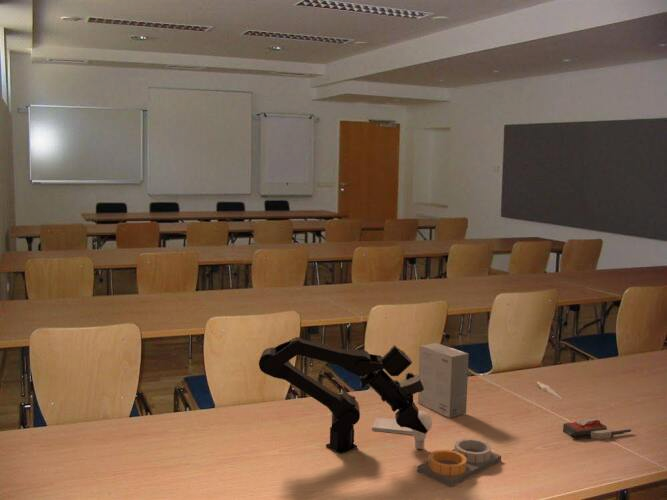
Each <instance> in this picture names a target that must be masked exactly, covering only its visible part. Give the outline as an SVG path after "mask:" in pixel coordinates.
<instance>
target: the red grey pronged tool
mask: <svg viewBox="0 0 667 500" xmlns="http://www.w3.org/2000/svg"><path fill="white" fill-rule="evenodd" d="M562 426H563V427H562V432H563V433H564V434H566V435H567V436H569V437H570V438H572V439H574V440H582V439H588V438H589V439H594V440H603V439H604V440H605V439H611V438H612V436H616V435H622V434H626V433H631V432H632V430H631V429H621V430H608V427H607V426H606V425H605V424H603V423H601V421H600V420H599V419H597V418H596V417H588V418H583V419H582V420H581V421H580V420H575V421H573V422H566V423H565V422H564V423H563V425H562Z"/></svg>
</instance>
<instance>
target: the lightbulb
mask: <svg viewBox="0 0 667 500" xmlns="http://www.w3.org/2000/svg"><path fill="white" fill-rule="evenodd" d="M418 412H419V414H418V418H419V419H420V420H421V422H422V423H423V425H424V426H425V427H426V429H427V432H426V433H422V432H419V431H416V430H413V429H411V430H412V431H413V433H414V434H413V437H414V447H415V448H416V449H417V450H423V449H424V448H425V441H426V438H427V434H428V433H429V431H430V430H431V428H432V426H433V421H432V417H431V416H430V415H429V413H428V412H426V411H424V410H419V411H418Z"/></svg>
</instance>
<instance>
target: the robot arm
mask: <svg viewBox="0 0 667 500" xmlns="http://www.w3.org/2000/svg"><path fill="white" fill-rule="evenodd" d="M298 355H299V356H301V357H307V358H310V359H314V360H316V361H317V360H318V361H321V362H324V363H329V364H333V365H337V366H339V367H341V368H343V369H345V370H346V371H347V372H349V373H352V374H354V375H356V376H359V379H360V389H364V388H366V386H367V385H368V386H369V387H370V388H371V389H373V390H374V392H375V393H376V394H378V395H379V397H380V399H381V401H382V402H384V403H385V402H386V403H387V404H388V406H390V408H391V411H392V412H393V413H395V414H394V415H395V418H394V419H396V423H397V424H398V425H399V426H400V427H407V428H410V429H413V430H416V431H419V432H422V433H426V432H427V429H426V427H425V426H424V425H423V423H422V422H421V420H420V419H419V418H418V414H419V412H418V411H420V410H419V408H418V407H417V405H416V404H415V402H414V394H417V393H418V392H421V391H423V390H424V387H423V385H422V383H421V380H420V378H419V374H418V375H417V374H414V373H412V372H410V371H409V372H407V373H405V379H403V381H402V382H401V381H400V382H399V380H396V379H393V378H392V377H399V376H400V375H401V374H402V373H403V372H405V371H406V370H407V368H409V367H410V366H411V365H412V364H413V361H412V359H411V358H410V357H409V356H408V355H407V353H406V352H405V351H404V350H402V349H400V348H399V347H398V346H396V345H393V346H392V347H391V348H390V349H389V350H388V352H386V353H385V354H384V355H383V356H382V355H379V354H378V355H377V354H371V353H369V352H368V351H366V350H364V349H357V348H356V349H355V348H347V349H343V348H342V349H341V348H338V347H333V346H329V345H327V344H323V343H318V342H315V341H310V340H307V339H303V338H302V337H299V336H298V337H297V336H295V337H293V338H292V339H290V340H289V341H286V342H282V343H281V344H278V345H277V346H274V347H267V348H266V349H264V350H263V351H262V353H261V354H260V356H259V360H258V367H259V369H260V372H262V373H263V374H265V375H267V376H270V377H272V378H275V379H279V380H283V381H286V382H287V383H289V384H291V385H292V386H294V388H297V389H298V390H300V391H302V392H303V393H305V394H306V395H308V396H310V397H311V398H313V399H314V400H316V401H317V402H318V403H320V404H321V405H323V406H324V407H326V408H328V410H329V411H330V413H331V426H330V427H329V443H326V444H325V447H326V448H328V449H330V450H333V451H335V452H336V453H338V454H344V453H347V452H349V451H352V450H354V449H357V448H358V445H357V444H355V428H354V426H355V425H356V424H357V423H358V422H359V420H361V419H360V418H361V412H360V405H359V401H358V400H357V399H356V396H354V395H350V394H349V393H348V392H347V391H346V390H342V392H341V393H338V392H334V391H332V390H331V389H330V388H328V387H327V386H325V385H323V384H322V383H320V382H319V381H317V380H315V379H314V378H312V376H309V375H308V374H306V373H305V372H303V371H301V369H299V368H297V367H296V366H294V365H293V364H292V363H291V362H290V361H291V360H292V359H293V358H295V357H296V356H298Z"/></svg>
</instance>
